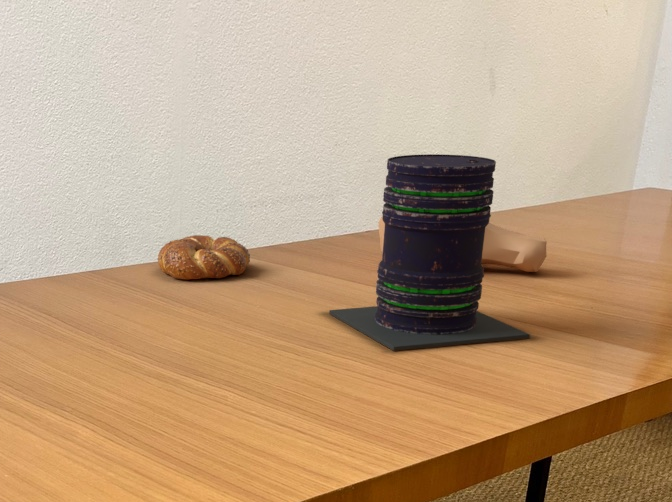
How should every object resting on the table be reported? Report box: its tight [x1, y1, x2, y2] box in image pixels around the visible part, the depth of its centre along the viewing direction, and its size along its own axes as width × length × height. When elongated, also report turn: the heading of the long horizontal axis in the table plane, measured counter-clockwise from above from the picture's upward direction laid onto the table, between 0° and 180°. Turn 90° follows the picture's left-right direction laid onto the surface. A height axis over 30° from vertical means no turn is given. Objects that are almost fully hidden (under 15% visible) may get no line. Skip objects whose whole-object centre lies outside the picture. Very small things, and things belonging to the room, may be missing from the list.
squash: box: [378, 213, 548, 273], centre depth 125 cm, size 11×20×9 cm, turn 66°
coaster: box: [329, 305, 531, 352], centre depth 102 cm, size 14×14×1 cm
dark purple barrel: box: [375, 153, 497, 335], centre depth 99 cm, size 10×10×15 cm
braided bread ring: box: [157, 234, 251, 281], centre depth 124 cm, size 12×11×4 cm
